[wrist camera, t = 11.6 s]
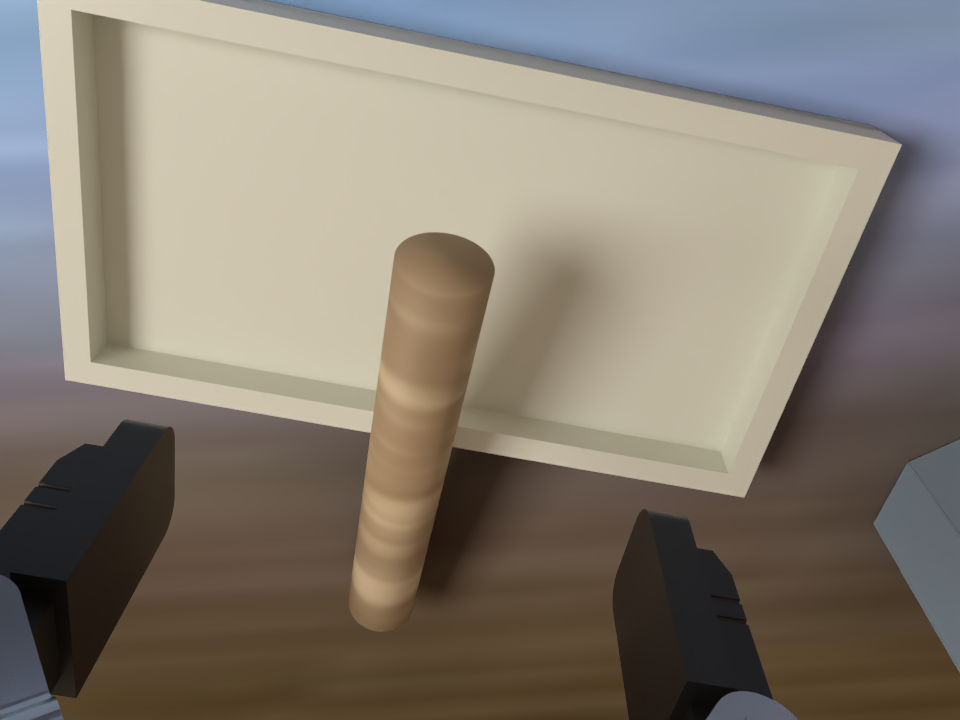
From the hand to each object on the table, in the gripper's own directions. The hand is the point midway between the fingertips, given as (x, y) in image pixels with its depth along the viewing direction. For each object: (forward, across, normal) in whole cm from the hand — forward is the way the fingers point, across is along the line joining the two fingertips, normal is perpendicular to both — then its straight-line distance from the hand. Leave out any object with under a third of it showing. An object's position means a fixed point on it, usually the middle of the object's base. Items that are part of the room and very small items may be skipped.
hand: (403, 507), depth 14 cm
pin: (+9, 0, -2) cm, 9 cm away
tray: (+12, 0, 0) cm, 12 cm away
